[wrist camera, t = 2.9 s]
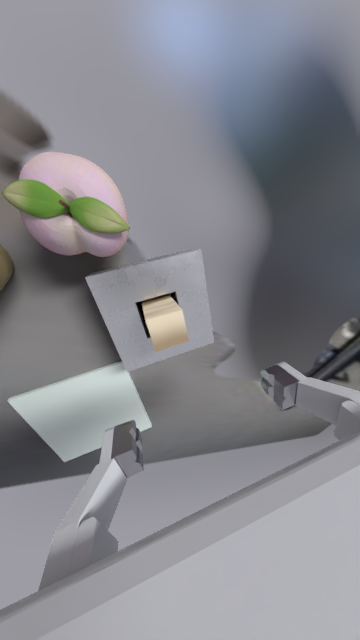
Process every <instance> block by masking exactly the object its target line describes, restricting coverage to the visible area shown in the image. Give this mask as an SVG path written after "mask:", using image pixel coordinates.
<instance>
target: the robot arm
mask: <svg viewBox="0 0 360 640" xmlns="http://www.w3.org/2000/svg"><path fill="white" fill-rule="evenodd" d="M261 375H262V376H263V378H262V379H261V385H262V387H263V389H264V391H265V392H266V393H267V394H268V395H270V396H272V397H273V399H274V401H275V402H276V404H277V405H278V406H279V407H280V408H281V409H282V410H283V409H286V408H288V407H291V406H293V405H295V406H297V407H299V408H301V409H303V410H305V411H307V412H309V413H311V414H313V415H316V416H318V417H320V418H322V419H324V420H326V421H328V422H330V423H332V424H334V425H335V429H334V436H335V437H336V438H337V439H339V440H340V441H338V442H336V443H334V444H332V445H330V446H328V447H326V448H324V449H322V450H320V451H318V452H316V453H314V454H312V455H310V456H308V457H306V458H304V459H302V460H300V461H298V462H296V463H294V464H292V465H290V466H288V467H286V468H284V469H282V470H280V471H278V472H276V473H274V474H272V475H270V476H268V477H266V478H264V479H262V480H260V481H258V482H256V483H254V484H252V485H250V486H248V487H246V488H244V489H242V490H240V491H238V492H236V493H234V494H232V495H230V496H228V497H226V498H224V499H222V500H220V501H218V502H216V503H214V504H212V505H210V506H208V507H206V508H204V509H202V510H200V511H198V512H196V513H194V514H192V515H190V516H188V517H186V518H184V519H182V520H180V521H178V522H176V523H174V524H172V525H170V526H168V527H166V528H164V529H162V530H160V531H158V532H156V533H154V534H152V535H150V536H148V537H146V538H144V539H142V540H140V541H138V542H135V543H134V544H132V545H129V546H127V547H126V548H124V549H121V550H120V551H118V541H117V539H116V538H115V537H114V536H113V535H112V534H111V533H110V532H109V531H108V528H109V526H110V523H111V521H112V518H113V516H114V513H115V510H116V508H117V505H118V502H119V500H120V497H121V495H122V492H123V489H124V487H125V484H126V482H127V478H128V477H130V476H132V475H134V474H137V473H139V472H141V471H143V470H144V469H143V455H142V453H141V449H142V438H141V434H140V431H139V429H138V428H136V422H135V421H134V420H131V421H128V422H125V423H122V424H120V425H117V426H114V427H111V428H109V429H106V430H105V432H104V437H103V443H102V449H101V456H100V462H99V464H98V465H96V466H95V468H94V470H93V471H92V473H91V474H90V476H89V478H88V479H87V481H86V482H85V484H84V486H83V487H82V489H81V491H80V492H79V494H78V496H77V497H76V499H75V500H74V502H73V504H72V505H71V507H70V508H69V510H68V512H67V514H66V515H65V516H64V518H63V520H62V521H61V523H60V525H59V526H58V528H57V530H56V531H55V533H54V536H53V540H52V544H51V547H50V550H49V554H48V558H47V561H46V565H45V568H44V572H43V576H42V579H41V583H40V586H39V590H38V591H37V592H35V593H33V594H31V595H29V596H27V597H25V598H23V599H22V600H19V601H18V602H15V603H13V604H11V605H10V606H7V607H5V608H3V609H1V610H0V640H360V391H357V390H353V389H349V388H346V387H342V386H339V385H335V384H332V383H328V382H324V381H321V380H317V379H314V378H310V377H309V378H307V377H305V376H304V375H302V374H301V373H299V372H298V371H296V370H295V369H294V368H292V367H291V366H289V365H288V364H287V363H285V362H282V363H279V364H276V365H273V366H271V367H269V368H266V369H263V370H262V371H261Z"/></svg>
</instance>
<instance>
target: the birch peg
mask: <svg viewBox="0 0 360 640" xmlns="http://www.w3.org/2000/svg"><path fill="white" fill-rule="evenodd" d="M141 303H142V307H143V312H144V316H145V321H146V324H147V327H148V330H149V333H150V336H151V339H152V342H153V345H154V348H155V352H157V351H160V350H163V349H166V348H169V347H172V346H175V345H178V344H181V343H184V342H187V341H189V338H188V334H187V329H186V324H185V320H184V315H183V310H182V309H181V307H180V306H179V305H178V304H177V303H176V302H175V301H174V300H173V298H172V297H171V296H170V295H169V294H165V295H161V296H157V297H154V298H150V299H147V300H143V301H141Z"/></svg>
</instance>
